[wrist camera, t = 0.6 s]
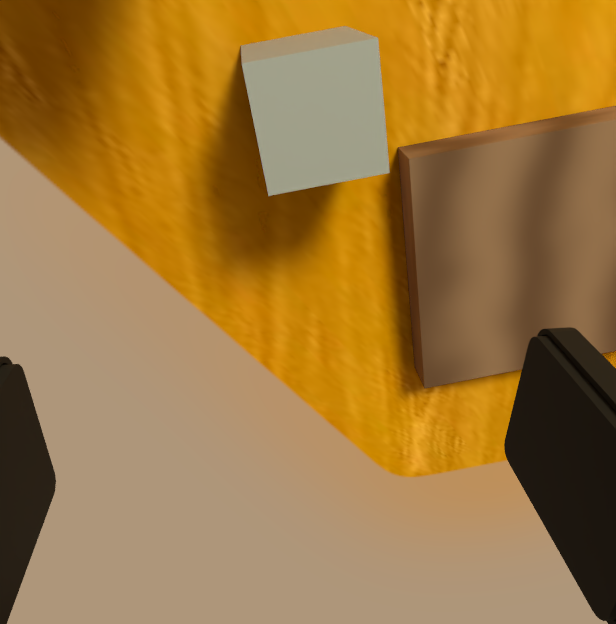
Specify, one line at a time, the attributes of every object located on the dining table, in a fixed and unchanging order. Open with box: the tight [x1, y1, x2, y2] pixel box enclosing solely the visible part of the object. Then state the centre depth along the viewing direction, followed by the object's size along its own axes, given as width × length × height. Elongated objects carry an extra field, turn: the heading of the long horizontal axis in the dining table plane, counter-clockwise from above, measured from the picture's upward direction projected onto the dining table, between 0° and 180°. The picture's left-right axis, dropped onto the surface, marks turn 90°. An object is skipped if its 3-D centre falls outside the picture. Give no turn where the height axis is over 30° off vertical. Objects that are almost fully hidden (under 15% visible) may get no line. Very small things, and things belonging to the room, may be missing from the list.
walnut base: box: [398, 106, 616, 388], centre depth 36 cm, size 16×16×2 cm
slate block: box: [241, 26, 390, 196], centre depth 27 cm, size 6×6×8 cm
